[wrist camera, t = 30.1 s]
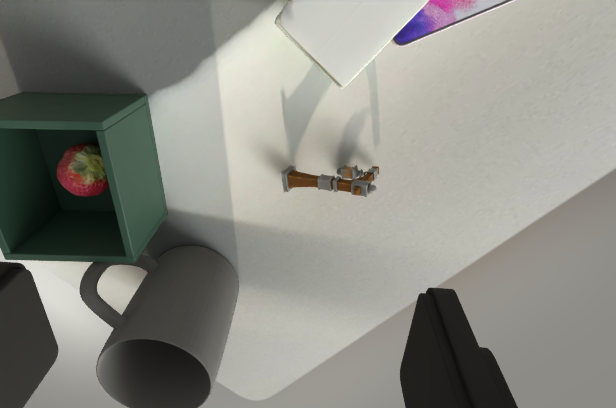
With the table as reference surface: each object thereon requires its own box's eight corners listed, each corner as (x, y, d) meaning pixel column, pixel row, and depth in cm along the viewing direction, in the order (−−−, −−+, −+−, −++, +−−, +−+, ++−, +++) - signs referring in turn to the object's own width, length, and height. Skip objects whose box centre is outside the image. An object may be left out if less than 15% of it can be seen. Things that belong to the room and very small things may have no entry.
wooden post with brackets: (389, 180, 34) (373, 204, 31) (305, 172, 38) (282, 193, 34) (388, 161, 34) (372, 183, 30) (303, 154, 37) (279, 174, 33)
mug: (259, 287, 42) (238, 389, 31) (196, 325, 44) (157, 430, 34) (162, 192, 37) (99, 275, 26) (98, 242, 39) (17, 334, 29)
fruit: (54, 160, 35) (15, 185, 30) (102, 123, 33) (68, 144, 29) (91, 197, 36) (59, 225, 32) (138, 164, 35) (112, 189, 30)
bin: (22, 91, 33) (-55, 118, 26) (147, 94, 32) (102, 121, 26) (60, 212, 38) (5, 259, 31) (168, 214, 38) (135, 263, 31)
